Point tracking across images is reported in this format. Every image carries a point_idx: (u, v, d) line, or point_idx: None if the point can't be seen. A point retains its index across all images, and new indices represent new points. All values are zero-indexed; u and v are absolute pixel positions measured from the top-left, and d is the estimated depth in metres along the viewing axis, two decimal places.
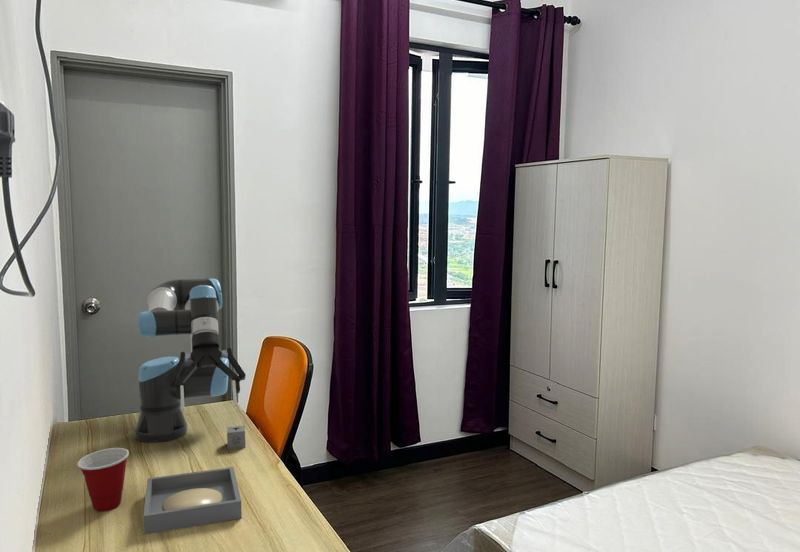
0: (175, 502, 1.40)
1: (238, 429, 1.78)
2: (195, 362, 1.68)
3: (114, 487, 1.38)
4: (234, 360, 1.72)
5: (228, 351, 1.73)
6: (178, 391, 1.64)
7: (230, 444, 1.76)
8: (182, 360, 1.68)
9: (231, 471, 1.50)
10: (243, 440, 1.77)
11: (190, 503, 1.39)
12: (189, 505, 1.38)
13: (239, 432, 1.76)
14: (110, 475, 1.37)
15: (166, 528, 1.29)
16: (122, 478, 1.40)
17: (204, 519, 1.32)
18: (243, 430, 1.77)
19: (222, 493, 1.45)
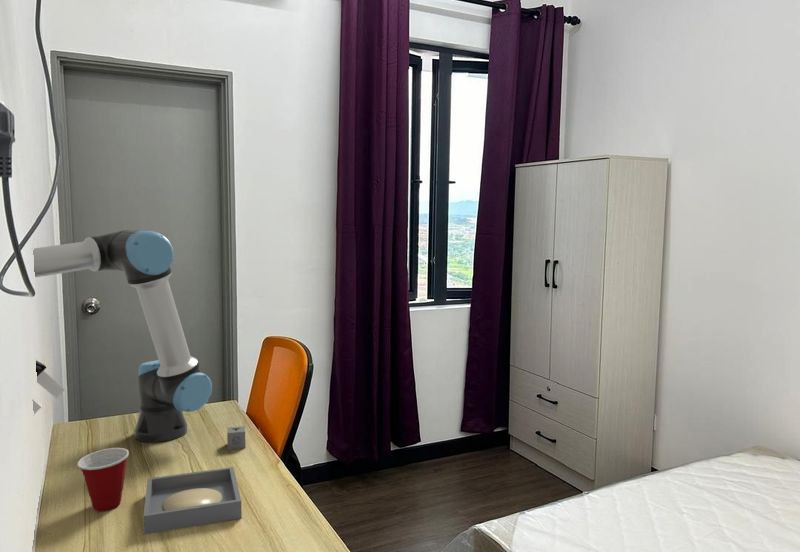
0: (175, 502, 1.40)
1: (238, 429, 1.78)
2: None
3: (114, 487, 1.38)
4: None
5: None
6: None
7: (230, 445, 1.75)
8: None
9: (231, 471, 1.50)
10: (243, 440, 1.76)
11: (190, 503, 1.39)
12: (189, 505, 1.38)
13: (239, 432, 1.76)
14: (110, 475, 1.37)
15: (166, 528, 1.29)
16: (122, 478, 1.40)
17: (204, 519, 1.32)
18: (243, 430, 1.77)
19: (222, 493, 1.45)
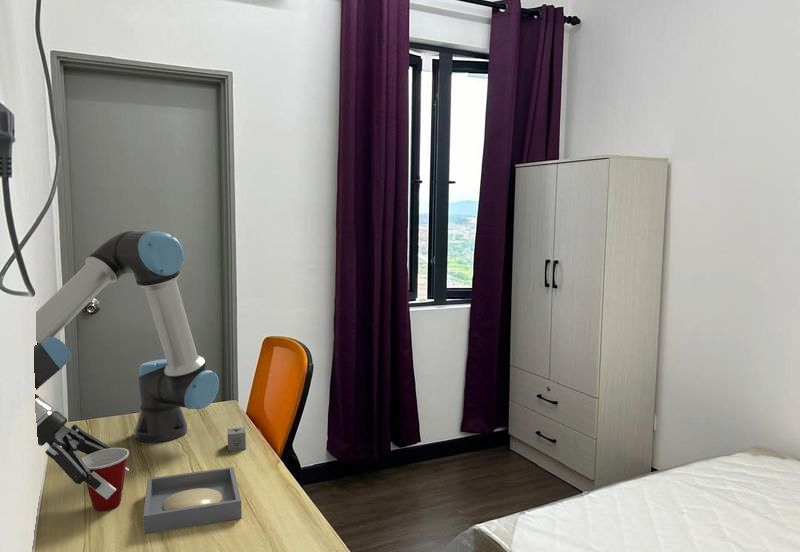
0: (175, 502, 1.40)
1: (238, 431, 1.77)
2: None
3: (114, 487, 1.38)
4: None
5: None
6: None
7: (230, 446, 1.74)
8: None
9: (231, 471, 1.50)
10: (243, 442, 1.75)
11: (190, 503, 1.39)
12: (189, 505, 1.38)
13: (239, 434, 1.75)
14: (110, 474, 1.37)
15: (166, 528, 1.29)
16: (122, 478, 1.40)
17: (204, 519, 1.32)
18: (243, 432, 1.76)
19: (222, 493, 1.45)
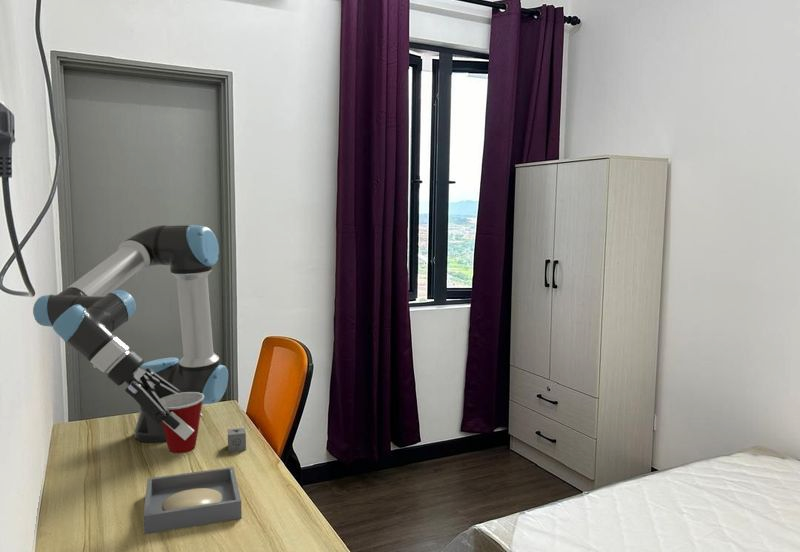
0: (175, 502, 1.40)
1: (239, 431, 1.76)
2: None
3: None
4: None
5: None
6: None
7: (230, 447, 1.74)
8: None
9: (231, 471, 1.50)
10: (244, 442, 1.75)
11: (190, 503, 1.39)
12: (189, 505, 1.38)
13: (240, 434, 1.74)
14: (188, 416, 1.35)
15: (166, 528, 1.29)
16: (198, 421, 1.38)
17: (204, 519, 1.32)
18: (244, 432, 1.75)
19: (222, 493, 1.45)
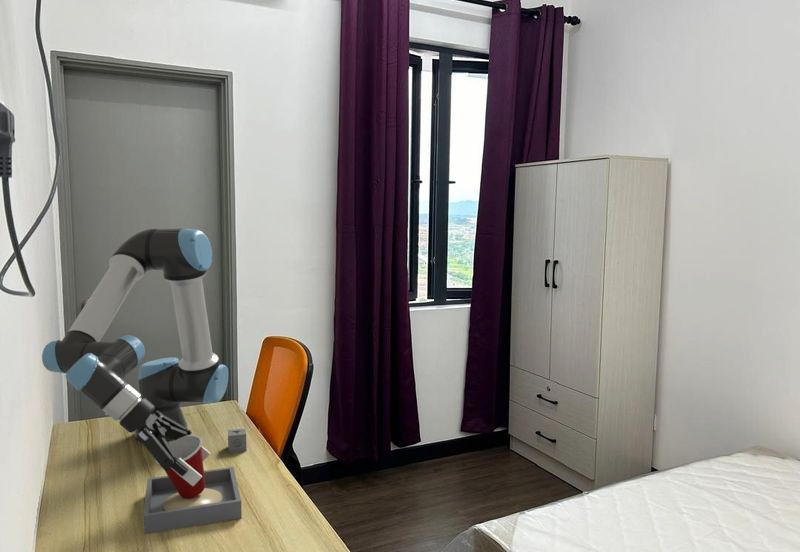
0: (175, 502, 1.40)
1: (239, 432, 1.75)
2: None
3: None
4: None
5: None
6: None
7: (231, 448, 1.73)
8: None
9: (231, 471, 1.50)
10: (244, 443, 1.74)
11: (190, 503, 1.39)
12: (189, 505, 1.38)
13: (240, 435, 1.74)
14: (190, 465, 1.38)
15: (166, 528, 1.29)
16: (201, 464, 1.42)
17: (204, 519, 1.32)
18: (244, 433, 1.75)
19: (222, 493, 1.45)
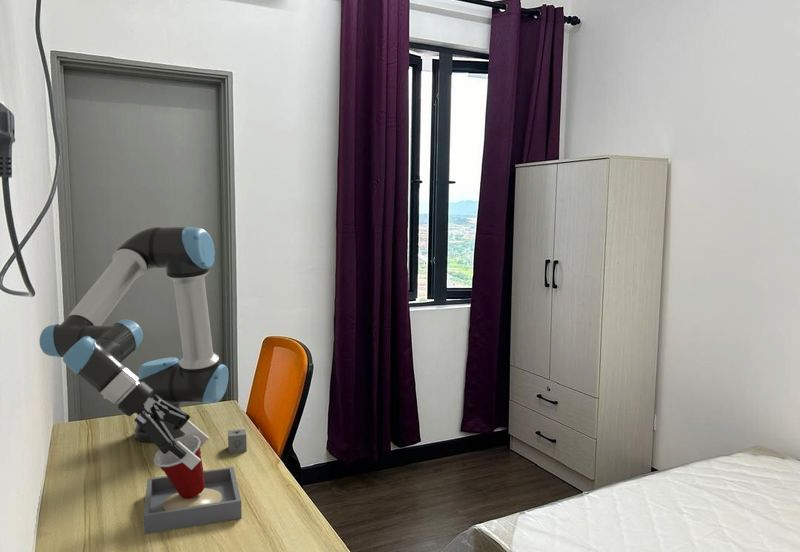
0: (175, 502, 1.40)
1: (239, 432, 1.75)
2: None
3: (196, 475, 1.40)
4: None
5: None
6: None
7: (231, 448, 1.73)
8: None
9: (231, 471, 1.50)
10: (244, 444, 1.74)
11: (190, 503, 1.39)
12: (189, 505, 1.38)
13: (240, 436, 1.73)
14: None
15: (166, 528, 1.29)
16: (200, 464, 1.42)
17: (204, 519, 1.32)
18: (244, 433, 1.74)
19: (222, 493, 1.45)
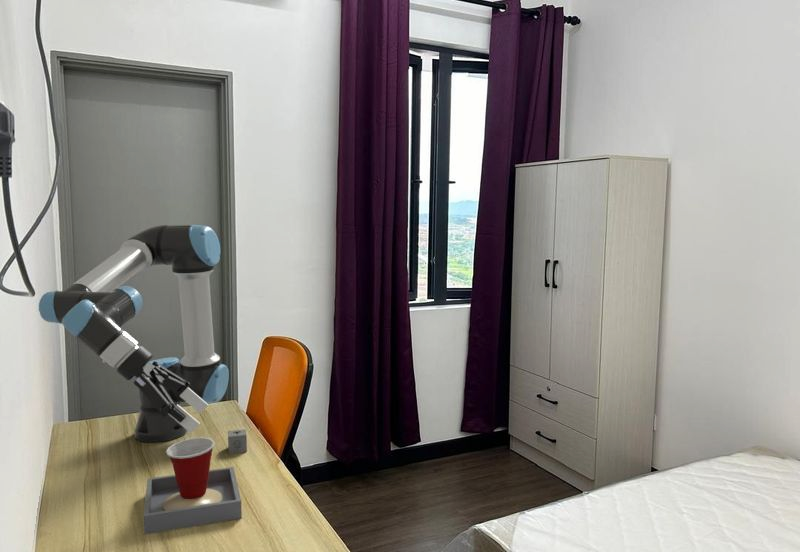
0: (175, 502, 1.40)
1: (239, 433, 1.75)
2: None
3: (202, 475, 1.41)
4: None
5: None
6: None
7: (231, 448, 1.73)
8: None
9: (231, 471, 1.50)
10: (244, 444, 1.74)
11: (190, 503, 1.39)
12: (189, 505, 1.38)
13: (240, 436, 1.73)
14: (200, 463, 1.40)
15: (166, 528, 1.29)
16: (209, 467, 1.43)
17: (204, 519, 1.32)
18: (244, 434, 1.74)
19: (222, 493, 1.45)
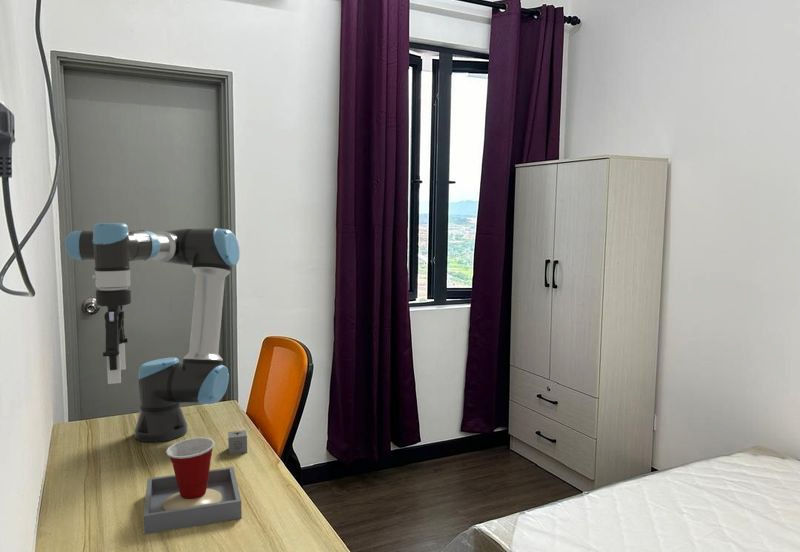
0: (175, 502, 1.40)
1: (239, 434, 1.74)
2: None
3: (202, 475, 1.41)
4: (106, 330, 1.37)
5: None
6: None
7: (231, 449, 1.72)
8: None
9: (231, 471, 1.50)
10: (245, 445, 1.73)
11: (190, 503, 1.39)
12: (189, 505, 1.38)
13: (241, 437, 1.72)
14: (200, 463, 1.40)
15: (166, 528, 1.29)
16: (209, 467, 1.43)
17: (204, 519, 1.32)
18: (245, 435, 1.73)
19: (222, 493, 1.45)
